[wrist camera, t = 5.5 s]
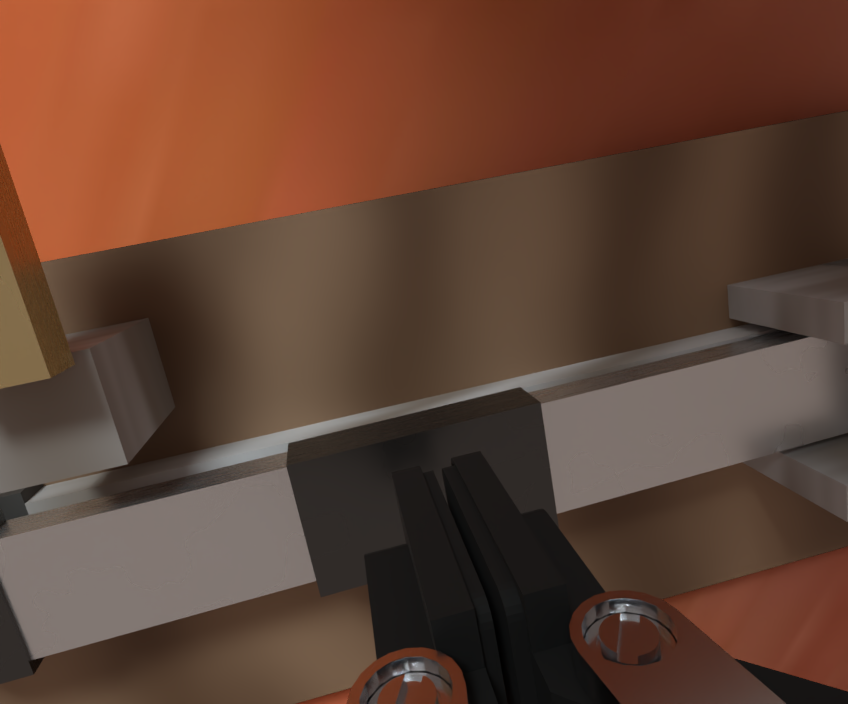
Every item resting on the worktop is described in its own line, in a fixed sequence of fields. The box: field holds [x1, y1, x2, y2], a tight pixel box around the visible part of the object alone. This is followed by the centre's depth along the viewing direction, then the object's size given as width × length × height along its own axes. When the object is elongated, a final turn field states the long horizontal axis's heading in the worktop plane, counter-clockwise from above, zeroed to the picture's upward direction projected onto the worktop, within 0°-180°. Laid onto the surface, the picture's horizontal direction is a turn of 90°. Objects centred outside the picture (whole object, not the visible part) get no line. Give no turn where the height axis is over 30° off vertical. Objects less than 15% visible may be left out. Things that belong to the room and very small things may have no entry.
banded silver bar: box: [0, 330, 848, 684], centre depth 14 cm, size 26×4×1 cm, turn 101°
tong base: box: [0, 111, 848, 704], centre depth 15 cm, size 31×14×6 cm, turn 101°
